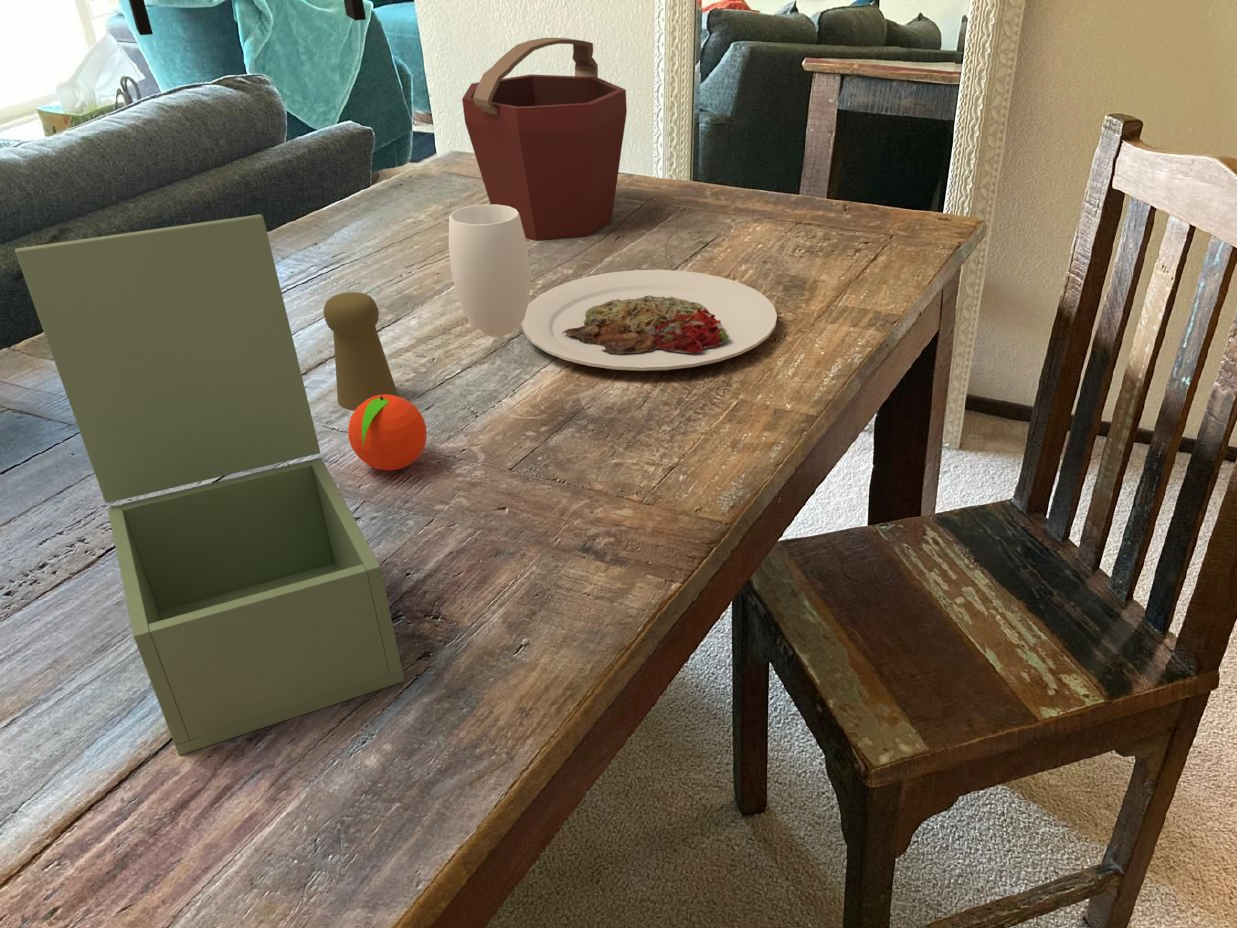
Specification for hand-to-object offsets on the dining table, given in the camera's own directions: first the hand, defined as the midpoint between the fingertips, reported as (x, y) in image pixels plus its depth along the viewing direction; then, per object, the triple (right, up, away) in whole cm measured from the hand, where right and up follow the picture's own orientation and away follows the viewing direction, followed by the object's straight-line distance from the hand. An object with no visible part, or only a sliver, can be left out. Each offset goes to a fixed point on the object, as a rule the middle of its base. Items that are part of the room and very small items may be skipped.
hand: (254, 25), depth 74 cm
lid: (-6, -23, +1) cm, 23 cm away
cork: (-6, -20, +40) cm, 45 cm away
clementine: (+1, -28, +28) cm, 40 cm away
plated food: (+23, -10, +56) cm, 61 cm away
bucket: (+6, +13, +89) cm, 90 cm away
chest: (-1, -43, +6) cm, 43 cm away
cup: (+10, -23, +36) cm, 44 cm away
